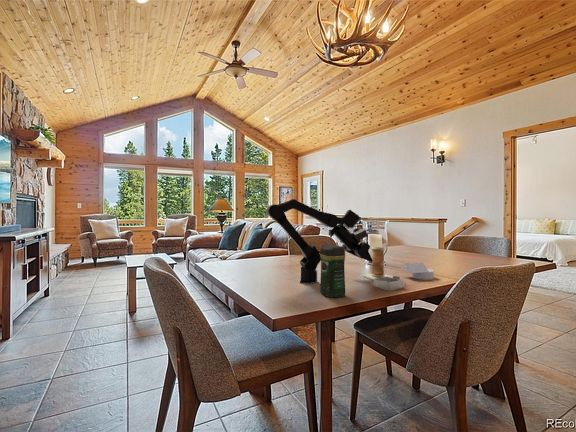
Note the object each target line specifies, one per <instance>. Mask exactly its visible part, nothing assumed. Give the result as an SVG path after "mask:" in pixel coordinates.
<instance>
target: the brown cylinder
mask: <svg viewBox="0 0 576 432" xmlns="http://www.w3.org/2000/svg"><path fill="white" fill-rule="evenodd" d="M385 250H386V249H385V247H382V246H381V247H380V246H372V247H371V251H372V252H371V253H372V256H371V258H372V260H373V261H372V262H371V263H372V264H371V265H372V267H371V268H372V270H371V271H372V273H371V274H372V276H373V277H378V278H381V277H384V274H385V273H384V272H385V271H384V269H385V265H384V264H385V256H384V255H385Z"/></svg>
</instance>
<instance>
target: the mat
mask: <svg viewBox="0 0 576 432" xmlns="http://www.w3.org/2000/svg"><path fill="white" fill-rule="evenodd" d="M360 276H361V277H363V278H366V279H368V280H370V281H373V282H374V279H376V278H378V277H373V276H372V273H366V274H365V273H364V274H360ZM386 276H387V277H392V278H393V276H392V275H389V274H386V273H384V277H386Z"/></svg>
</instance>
